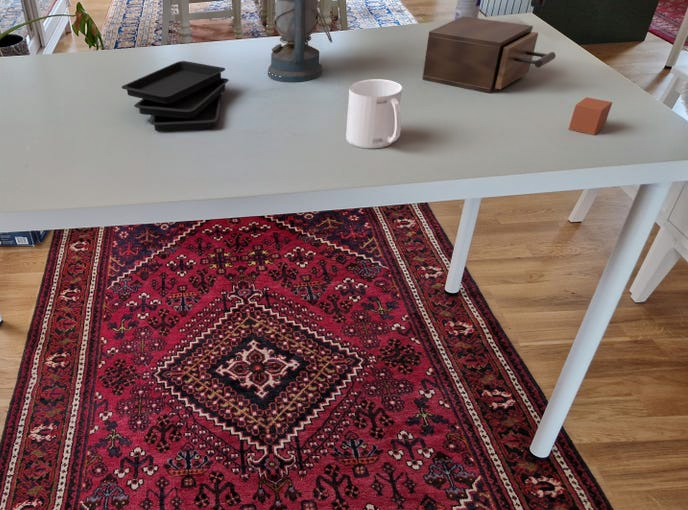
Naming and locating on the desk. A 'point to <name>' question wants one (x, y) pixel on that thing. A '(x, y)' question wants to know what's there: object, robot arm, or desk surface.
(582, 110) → the block
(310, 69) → the lantern
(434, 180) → the desk surface
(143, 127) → the desk surface
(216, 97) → the tray
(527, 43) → the drawer
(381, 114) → the mug
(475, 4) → the beverage can
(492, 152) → the desk surface
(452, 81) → the cabinet
